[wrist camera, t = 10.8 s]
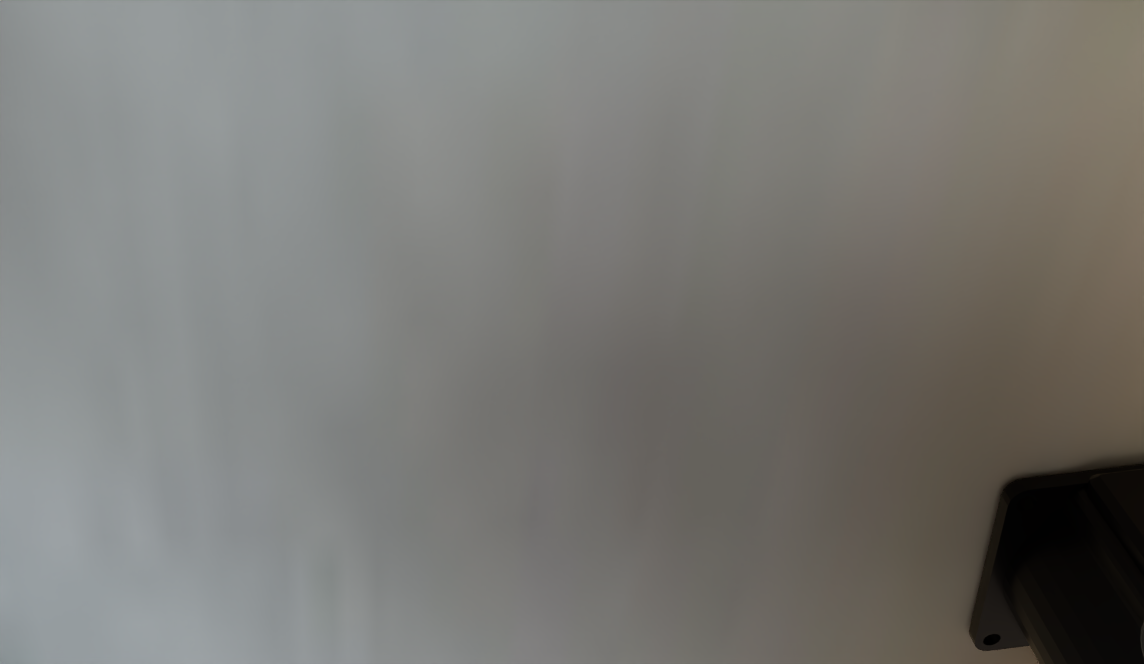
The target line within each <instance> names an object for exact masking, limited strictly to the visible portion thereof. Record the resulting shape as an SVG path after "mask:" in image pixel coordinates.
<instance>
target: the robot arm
mask: <svg viewBox="0 0 1144 664" xmlns="http://www.w3.org/2000/svg"><path fill="white" fill-rule="evenodd" d="M969 633H970V636H971V638H972V640H973V642H974V644H975V646H976V647H977V648H978V649H980V650H983V651H990V650H998V649H1006V648H1014V647H1023V646H1030V647H1031V649H1032V650H1033V652H1034V654H1035V656H1036V658H1037V660H1038V661H1039V663H1040V664H1144V465H1136V466H1128V467H1119V468H1111V469H1102V470H1094V471H1085V472H1077V473H1068V474H1060V475H1051V476H1043V477H1034V478H1026V479H1021V480H1017V481H1015V482H1013V483H1011V484H1009V485H1008V486H1007V487H1006V488H1005V489H1004V490H1003V492H1002V494H1001V498H1000V502H999V507H998V511H997V515H996V519H995V524H994V528H993V532H992V536H991V541H990V545H989V549H988V553H987V558H986V562H985V566H984V570H983V575H982V579H981V583H980V587H979V592H978V596H977V600H976V604H975V608H974V613H973V617H972V621H971V625H970V630H969Z"/></svg>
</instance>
